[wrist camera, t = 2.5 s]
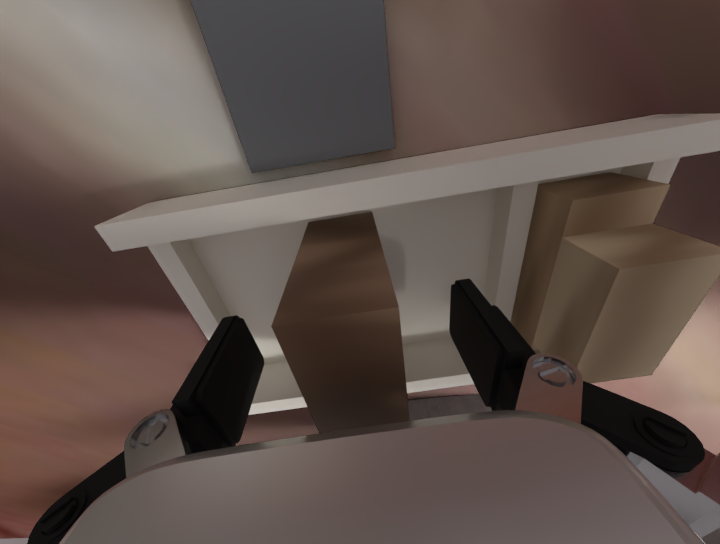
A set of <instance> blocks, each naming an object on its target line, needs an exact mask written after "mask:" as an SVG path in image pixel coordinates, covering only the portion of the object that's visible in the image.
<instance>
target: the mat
mask: <svg viewBox="0 0 720 544" xmlns="http://www.w3.org/2000/svg"><path fill="white" fill-rule="evenodd" d="M191 3H192V6H193V9H194V12H195V15H196V17H197V20H198V23H199V26H200V29H201V31H202V34H203V37H204V40H205V43H206V46H207V48H208V51H209V54H210V57H211V60H212V62H213V65H214V68H215V71H216V74H217V76H218V79H219V82H220V85H221V88H222V91H223V93H224V96H225V99H226V102H227V105H228V107H229V110H230V113H231V116H232V119H233V122H234V124H235V127H236V130H237V133H238V136H239V138H240V141H241V144H242V147H243V150H244V153H245V155H246V158H247V161H248V164H249V167H250V169H251V172H252V173H255V172H261V171H266V170H272V169H278V168H284V167H289V166H295V165H301V164H306V163H312V162H318V161H324V160H329V159H335V158H341V157H347V156H352V155H358V154H364V153H369V152H375V151H381V150H387V149H392V148H395V145H394V131H393V118H392V105H391V92H390V78H389V65H388V52H387V39H386V25H385V12H384V0H191Z"/></svg>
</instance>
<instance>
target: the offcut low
mask: <svg viewBox="0 0 720 544" xmlns="http://www.w3.org/2000/svg"><path fill="white" fill-rule="evenodd" d="M670 185H671V184H666V183H661V182H656V181H651V180H646V179H641V178H636V177H632V176H627V175H622V174H617V173H612V172H608V173H602V174H596V175H590V176H584V177H578V178H571V179H565V180H559V181H553V182H547V183H541V184H538V188H537V193H536V198H535V203H534V208H533V213H532V218H531V223H530V228H529V233H528V238H527V243H526V248H525V253H524V257H523V262H522V267H521V272H520V277H519V282H518V287H517V292H516V297H515V302H514V307H513V312H512V317H511V324H512V325H513V326H514V327H515V328H516V330H517V331H518V332H519V333H520V334H521V336H522V337H523V338H524V339H525V341H526V342H527V343H528V344H529V345H530V347H531V348H532V349H537V347H536V346H535V345H534V344H533V341H534V337H535V334H536V330H537V326H538V323H539V319H540V316H541V312H542V308H543V305H544V301H545V298H546V294H547V290H548V287H549V283H550V280H551V276H552V273H553V269H554V265H555V262H556V258H557V255H558V251H559V247H560V244H561V240H562V238H563V237H569V236H576V235H582V234H589V233H595V232H601V231H608V230H614V229H620V228H627V227H633V226H639V225H646V224H652V223H653V222H654V220H655V218H656V215H657V213H658V211H659V209H660V207H661V205H662V202H663V200H664V198H665V196H666V194H667V192H668V190H669V187H670Z"/></svg>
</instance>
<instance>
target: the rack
mask: <svg viewBox="0 0 720 544" xmlns="http://www.w3.org/2000/svg"><path fill="white" fill-rule="evenodd" d="M716 151H720V113H718V114H656V115H650V116H645V117H639V118H633V119H627V120H621V121H616V122H610V123H604V124H598V125H593V126H587V127H581V128H575V129H569V130H564V131H558V132H552V133H546V134H541V135H535V136H529V137H523V138H517V139H512V140H506V141H500V142H494V143H489V144H483V145H477V146H471V147H465V148H460V149H454V150H448V151H442V152H437V153H431V154H425V155H419V156H413V157H408V158H402V159H396V160H390V161H384V162H379V163H373V164H367V165H361V166H356V167H350V168H344V169H338V170H332V171H327V172H321V173H315V174H309V175H304V176H298V177H292V178H286V179H280V180H275V181H269V182H263V183H257V184H252V185H246V186H240V187H234V188H228V189H223V190H217V191H211V192H205V193H200V194H194V195H188V196H182V197H176V198H171V199H165V200H159V201H153V202H149V203H147V204H144V205H142V206H140V207H137V208H135V209H133V210H130V211H128V212H126V213H123V214H121V215H119V216H116V217H114V218H112V219H110V220H107V221H105V222H103V223H100V224H98V225H96V226H94V227H95V229H96V230H97V231H98V233H99V234H100V236H101V237H102V238H103V240H104V241H105V242H106V244H107V245H108V246H109V248H110V249H111V250H112V252H114V251H120V250H126V249H132V248H138V247H144V246H147V247H148V248H149V250H150V251H151V253H152V254H153V256H154V257H155V259H156V260H157V262H158V264H159V265H160V267H161V268H162V270H163V271H164V273H165V274H166V276H167V277H168V279H169V280H170V282H171V284H172V285H173V287H174V288H175V290H176V291H177V293H178V294H179V296H180V297H181V299H182V301H183V302H184V304H185V305H186V307H187V308H188V310H189V311H190V313H191V314H192V316H193V318H194V319H195V321H196V322H197V324H198V325H199V327H200V328H201V330H202V331H203V333H204V334H205V336H206V338H207V339H208V341H209V340H210V338H211V336H212V335H213V333H214V331H215V330H216V328H217V326H218V325H219V323H220V321H221V320H222V318H224V317H229V316H235V315H237V316H239V317H240V318H243V319H244V321H245V323H246V325H247V326H248V328H249V330H250V332H251V334H252V336H253V338H254V340H255V342H256V344H257V346H258V348H259V350H260V352H261V354H262V356H263V358H264V367H263V370H262V373H261V376H260V380H259V383H258V386H257V389H256V392H255V395H254V398H253V402H252V405H251V408H250V411H249V414H248V415H252V414H260V413H267V412H274V411H281V410H289V409H296V408H303V407H307V405H306V402H305V400H304V398H303V396H302V393H301V391H300V389H299V387H298V385H297V382H296V380H295V378H294V376H293V373H292V371H291V369H290V367H289V365H288V362H287V360H286V358H285V356H284V353H283V351H282V349H281V347H280V345H279V342H278V340H277V338H276V336H275V334H274V331H273V329H272V327H271V326H272V323H273V320H274V317H275V314H276V312H277V309H278V306H279V303H280V300H281V298H282V295H283V292H284V289H285V286H286V284H287V281H288V278H289V275H290V273H291V270H292V267H293V264H294V261H295V259H296V256H297V253H298V250H299V247H300V245H301V242H302V239H303V236H304V233H305V231H306V228H307V225H308V222H312V221H318V220H324V219H330V218H336V217H342V216H348V215H354V214H360V213H366V212H372V213H373V217H374V220H375V224H376V227H377V231H378V235H379V238H380V242H381V245H382V249H383V252H384V256H385V260H386V263H387V267H388V270H389V274H390V277H391V281H392V284H393V288H394V292H395V295H396V299H397V302H398V306H399V314H400V324H401V335H402V345H403V356H404V366H405V377H406V387H407V393H412V392H420V391H427V390H434V389H442V388H449V387H456V386H463V385H471V384H474V382H473V380H472V378H471V376H470V374H469V372H468V370H467V368H466V366H465V364H464V362H463V360H462V358H461V356H460V354H459V352H458V350H457V348H456V346H455V344H454V342H453V340H452V338H451V335H450V331H449V324H450V297H451V285H452V284H455V281H456V280H462V279H468V278H469V279H471V280H472V282H473V283H474V284H475V285H476V287H477V288H478V289H479V291H480V292H481V293H482V294H483V296H484V297H485V298H486V299H487V301H488V302H489V303H490V304H491V305H495V306H497V307H498V308H499V309H500V310H501V311H502V313H503V314H504V315H505V316H506V317H507V319H508V320H509V321H510V322H511V317H512V312H513V307H514V302H515V297H516V292H517V287H518V282H519V277H520V272H521V267H522V262H523V257H524V253H525V248H526V243H527V238H528V233H529V228H530V223H531V218H532V213H533V208H534V203H535V198H536V193H537V188H538V184H541V183H547V182H553V181H559V180H565V179H571V178H578V177H584V176H590V175H596V174H602V173H608V172H612V173H617V174H622V175H627V176H632V177H636V178H641V179H646V180H651V181H656V182H661V183H666V184H669V182H670V179H671V177H672V175H673V173H674V171H675V168H676V166H677V164H678V162H679V160H680V158H681V157H686V156H692V155H698V154H704V153H710V152H716ZM533 350H534V352H535V353H536V354H539V353H541V352H540V351H539V350H538V349H533Z"/></svg>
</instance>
